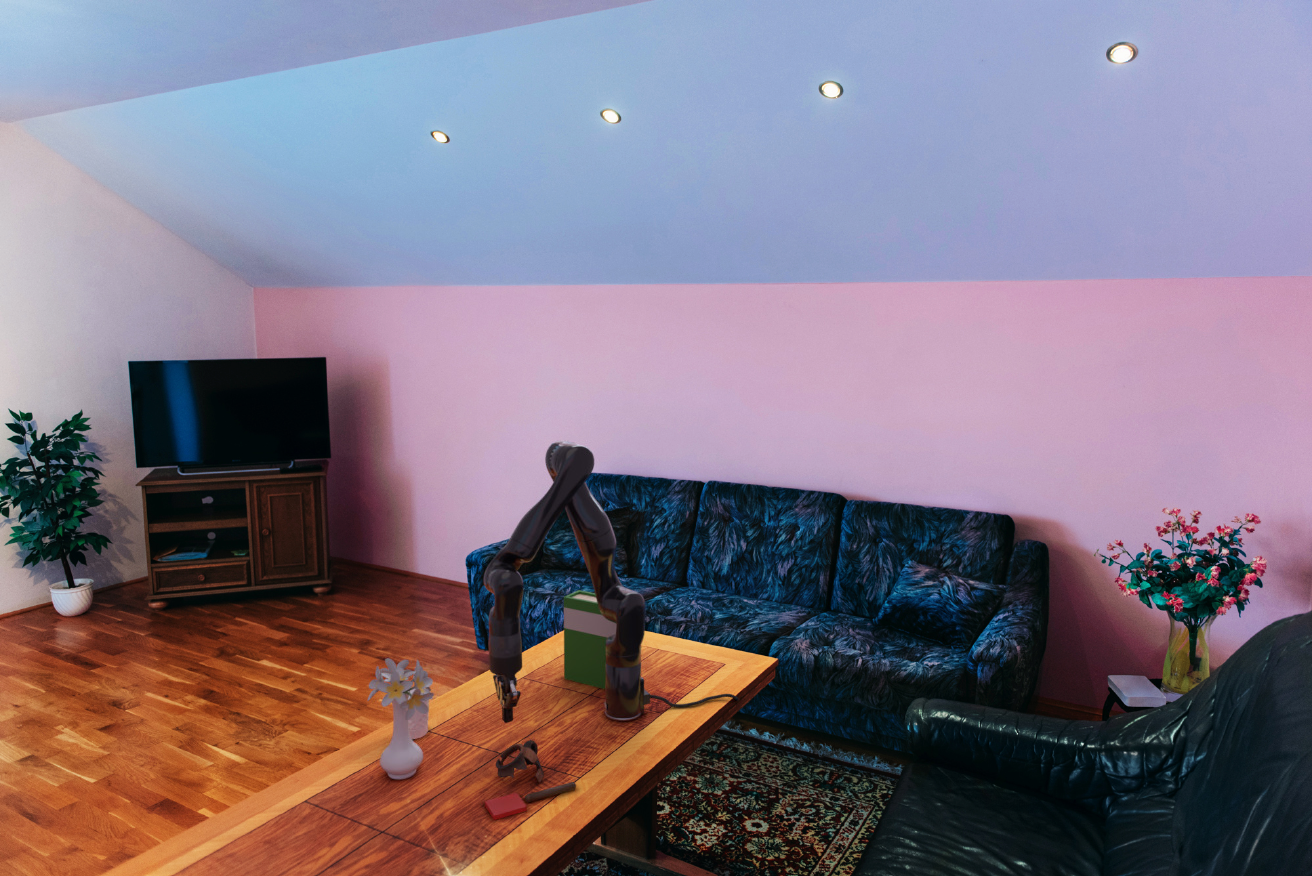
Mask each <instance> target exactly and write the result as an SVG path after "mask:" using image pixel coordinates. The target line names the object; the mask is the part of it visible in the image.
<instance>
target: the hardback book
mask: <svg viewBox="0 0 1312 876" xmlns="http://www.w3.org/2000/svg"><path fill="white" fill-rule="evenodd" d="M614 634H616V623H613V622H611V621H609V620H607V619H606V618H604V617H603V615H602V614H601V612H600V610H599V607H598V603H597V599H596V595H595V592H590V591H587V590H580V589H578V590H576V591H574V592H572V593H569V594H567V595H565V596H563V678H564V680H566V681H567V680H568V681H572V682H576V683H579V684H584V685H587V686H591V687H595V688H599V689H603V690H605V642H606V639H607V638H608V637H609V636H611V635H614Z"/></svg>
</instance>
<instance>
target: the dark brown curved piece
mask: <svg viewBox="0 0 1312 876" xmlns="http://www.w3.org/2000/svg"><path fill="white" fill-rule="evenodd" d="M518 751H519V753H518V754H517V756H516V757H515V758H514V759H513V760H511V761H510V762H508V763H507V764H504V761H506V760H507V759H508V757H510V756H512V754H514V753H515V752H518ZM538 751H539V747H538V744H537V742H536V741H535V740H534V739H529V740H526V741H525V742H524V743H515V744H511V746H508V747H507V748H506V749H505V750H503V752H501V754H500V755H499V757H500V758H501V759H500V758H498V759H497V760H496V761H495V768H496V769H497V776H498V777H499V778H500V779H501V778H507V777H509V778H511V779H515V769H516V770H518V771H521V770H522V771H526V770H528V766H534V765H535V768H536V773H535V774H534V777H535V778H536V780H537V783H538V784H540V783H541V782H542V780H543V779H544V775H545V772H544V770H543V767H542V765H541V761H540V759H539V756H538V754H539V753H538Z"/></svg>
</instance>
